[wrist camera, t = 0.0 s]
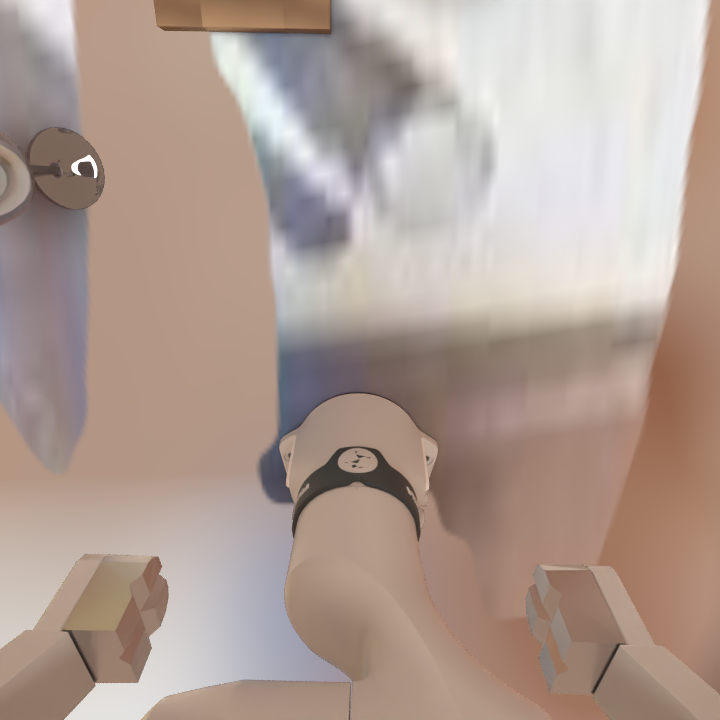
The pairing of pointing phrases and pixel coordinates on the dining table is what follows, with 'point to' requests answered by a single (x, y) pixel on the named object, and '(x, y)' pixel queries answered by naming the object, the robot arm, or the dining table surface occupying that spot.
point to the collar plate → (244, 15)
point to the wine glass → (49, 172)
